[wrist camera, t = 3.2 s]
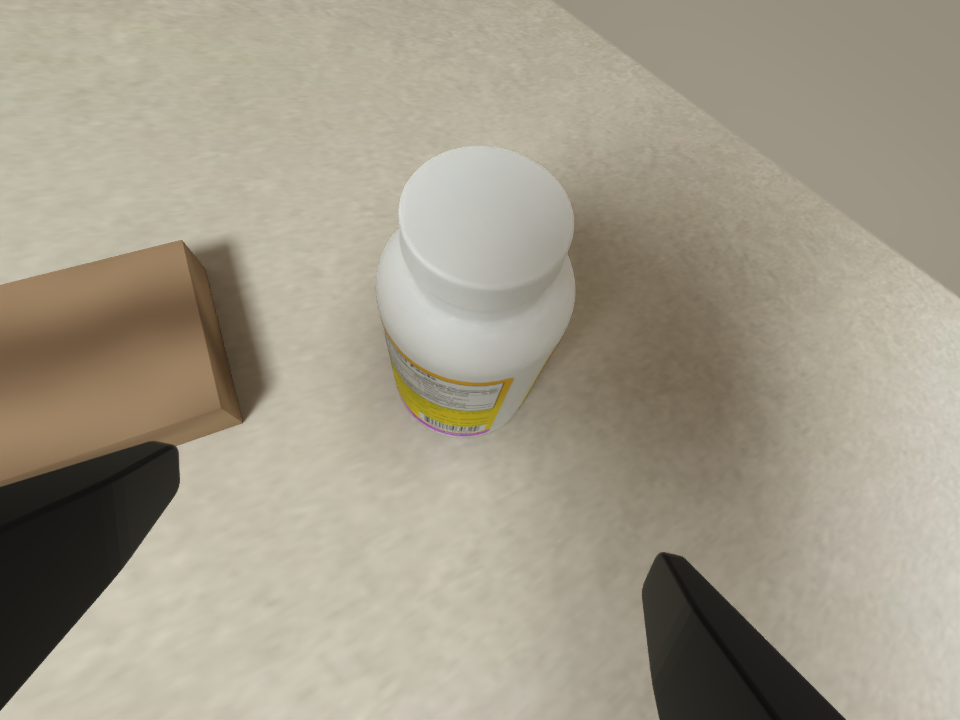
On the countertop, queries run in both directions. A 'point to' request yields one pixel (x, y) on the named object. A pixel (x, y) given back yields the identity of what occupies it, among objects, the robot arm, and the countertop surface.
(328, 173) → the countertop surface
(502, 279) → the supplement bottle
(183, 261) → the walnut block
